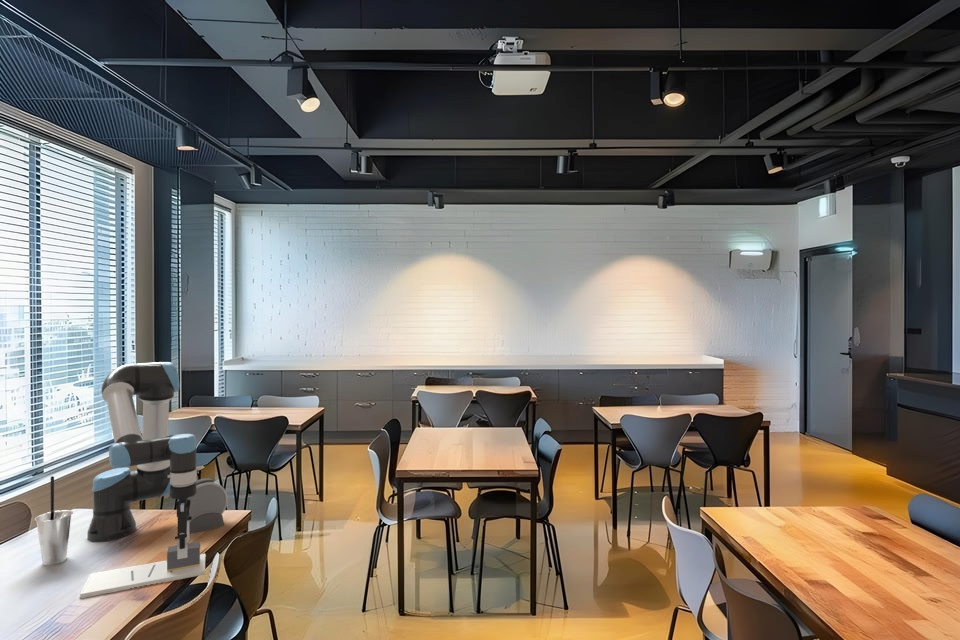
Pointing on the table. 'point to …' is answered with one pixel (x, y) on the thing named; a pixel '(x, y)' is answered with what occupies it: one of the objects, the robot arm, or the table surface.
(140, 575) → the board
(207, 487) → the alarm clock
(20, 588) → the table surface
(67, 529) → the metal cup with straw
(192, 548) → the block
